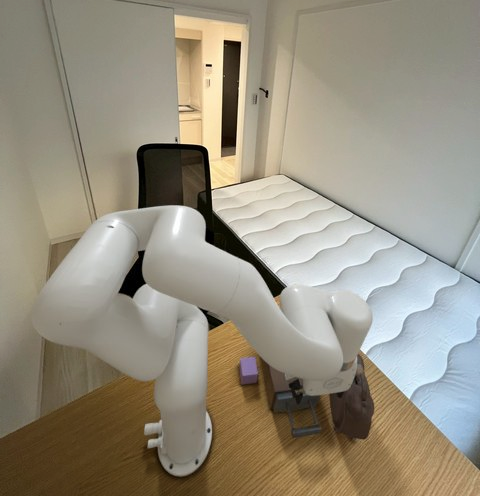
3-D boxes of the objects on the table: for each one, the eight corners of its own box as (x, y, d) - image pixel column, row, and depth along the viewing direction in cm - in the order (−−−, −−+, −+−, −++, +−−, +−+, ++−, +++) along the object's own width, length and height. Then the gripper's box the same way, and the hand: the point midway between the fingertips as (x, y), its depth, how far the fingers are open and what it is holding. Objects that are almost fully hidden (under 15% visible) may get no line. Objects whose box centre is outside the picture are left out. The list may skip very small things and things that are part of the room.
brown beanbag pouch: (362, 456, 57) (391, 415, 49) (331, 446, 58) (353, 404, 50) (350, 384, 70) (371, 341, 62) (324, 377, 71) (341, 334, 63)
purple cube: (241, 384, 68) (242, 376, 66) (239, 366, 72) (240, 358, 70) (256, 382, 69) (258, 374, 67) (253, 365, 73) (255, 356, 71)
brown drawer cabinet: (315, 402, 66) (322, 385, 62) (270, 409, 64) (274, 391, 60) (296, 345, 79) (301, 328, 75) (258, 349, 77) (261, 332, 73)
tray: (326, 439, 59) (333, 426, 56) (281, 447, 57) (285, 434, 54) (297, 351, 76) (301, 338, 73) (262, 355, 75) (265, 342, 72)
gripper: (299, 374, 42) (284, 420, 50) (387, 363, 45) (361, 408, 52) (286, 331, 49) (274, 378, 56) (363, 324, 52) (343, 369, 59)
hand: (316, 392), depth 54 cm, fingers open, 9 cm apart
